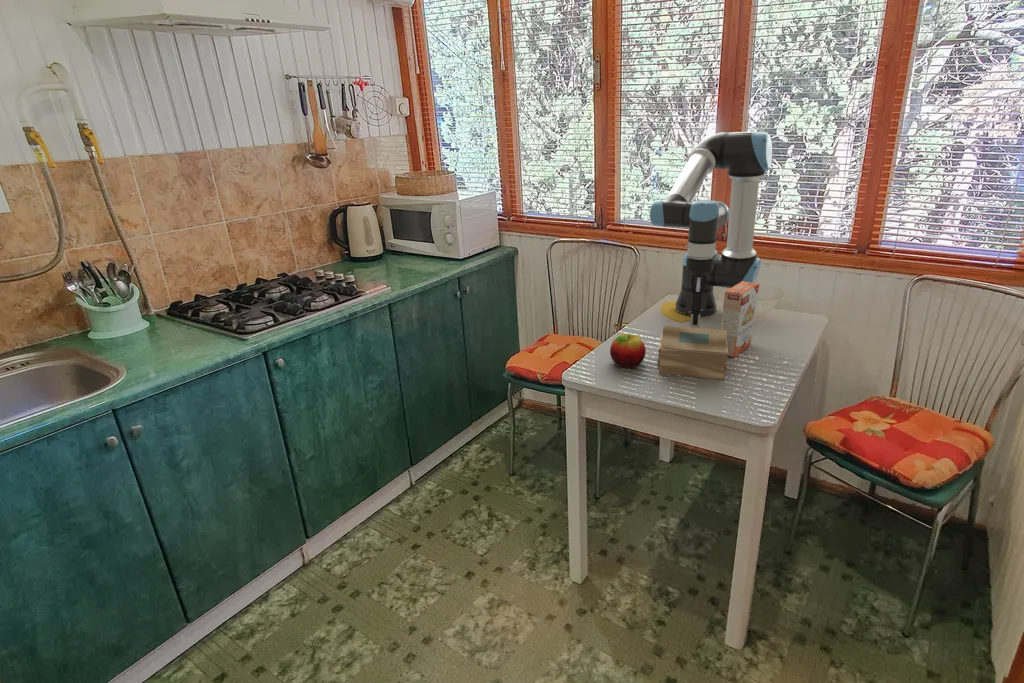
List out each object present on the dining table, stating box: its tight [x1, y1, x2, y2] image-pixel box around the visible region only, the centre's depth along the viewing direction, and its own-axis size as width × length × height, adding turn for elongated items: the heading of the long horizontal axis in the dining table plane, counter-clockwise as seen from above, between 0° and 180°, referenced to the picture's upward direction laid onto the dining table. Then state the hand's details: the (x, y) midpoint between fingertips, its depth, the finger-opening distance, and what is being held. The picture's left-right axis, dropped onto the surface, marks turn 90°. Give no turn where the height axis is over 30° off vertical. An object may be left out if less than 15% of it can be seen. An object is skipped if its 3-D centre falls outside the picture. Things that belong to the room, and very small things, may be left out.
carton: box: [657, 332, 729, 381], centre depth 170 cm, size 14×19×8 cm
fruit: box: [609, 333, 647, 369], centre depth 174 cm, size 11×11×10 cm
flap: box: [661, 325, 727, 353], centre depth 163 cm, size 7×18×1 cm
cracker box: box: [720, 281, 760, 358], centre depth 179 cm, size 14×6×21 cm, turn 138°
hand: (694, 333), depth 170 cm, fingers closed
